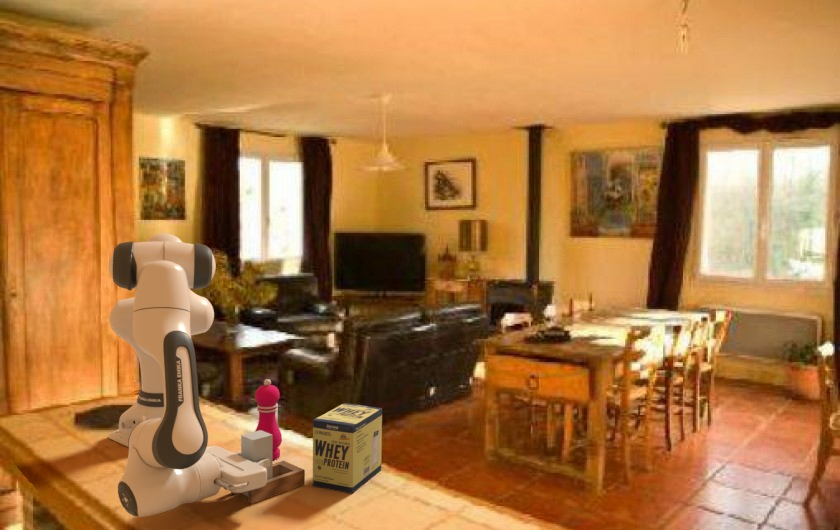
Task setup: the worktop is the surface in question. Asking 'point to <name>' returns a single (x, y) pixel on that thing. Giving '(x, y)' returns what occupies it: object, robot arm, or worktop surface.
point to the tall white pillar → (258, 449)
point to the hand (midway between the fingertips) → (260, 458)
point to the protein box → (347, 447)
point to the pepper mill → (269, 413)
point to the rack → (279, 482)
